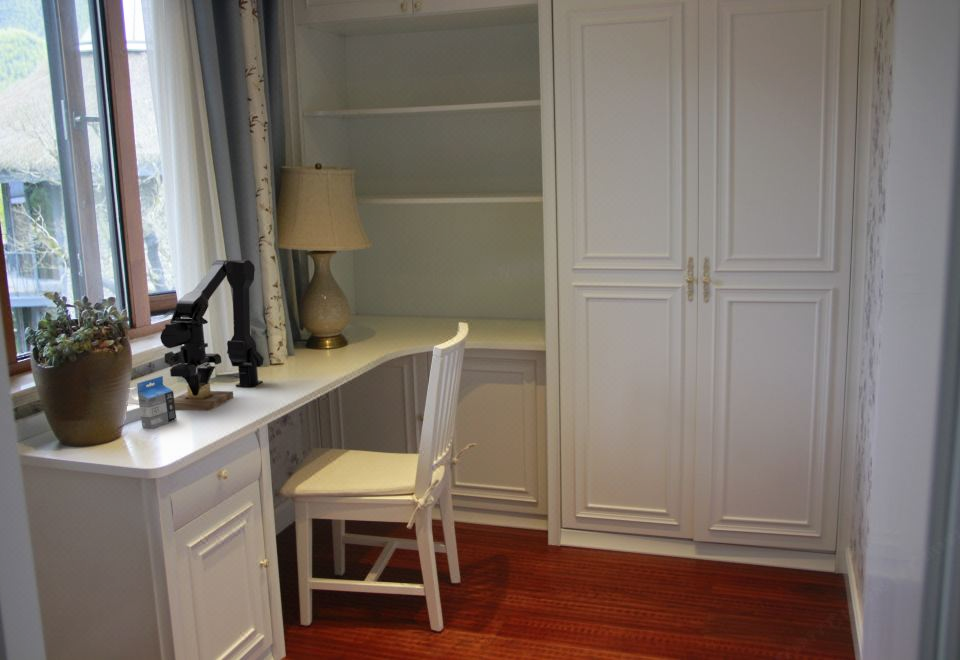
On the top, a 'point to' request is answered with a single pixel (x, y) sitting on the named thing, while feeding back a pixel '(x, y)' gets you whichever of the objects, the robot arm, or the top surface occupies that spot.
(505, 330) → the top surface
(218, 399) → the brown square frame
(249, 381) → the robot arm
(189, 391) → the tan wooden block
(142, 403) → the label tape box
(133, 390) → the bracket
